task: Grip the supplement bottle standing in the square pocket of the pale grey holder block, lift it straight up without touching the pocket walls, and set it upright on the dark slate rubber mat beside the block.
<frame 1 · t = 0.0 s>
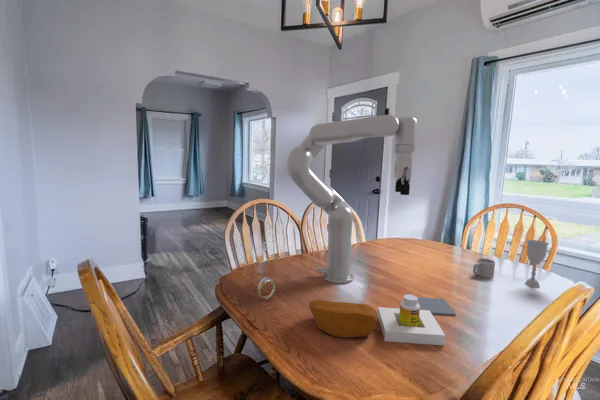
hand: (401, 193, 124), 37 cm above the table, tool pointing down, fingers open, 9 cm apart
ring: (266, 299, 111), on the table
supplement bottle: (408, 330, 93), resting in pocket block
bread: (340, 327, 94), on the table
slate mat: (432, 306, 107), on the table
mug: (481, 276, 137), on the table
pocket block: (408, 329, 93), on the table
chalice: (532, 285, 127), on the table
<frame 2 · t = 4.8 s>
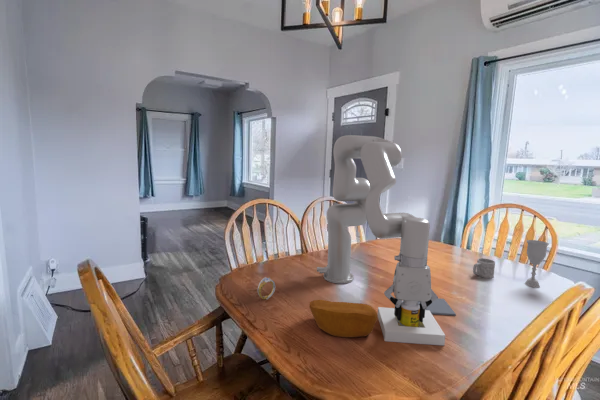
hand: (409, 318, 92), 4 cm above the table, tool pointing down, fingers closed on supplement bottle, 5 cm apart
supplement bottle: (408, 330, 93), resting in pocket block, touching gripper
everything else where it was.
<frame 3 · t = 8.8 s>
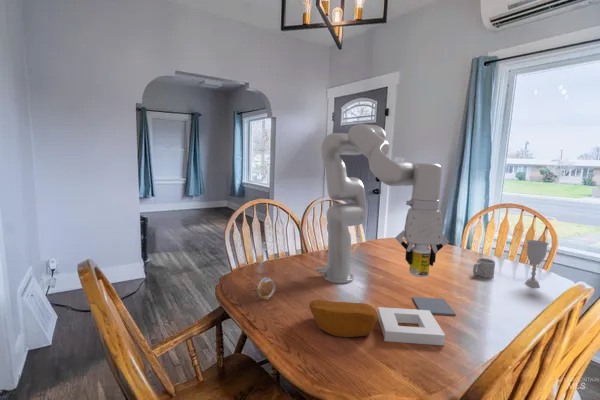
hand: (419, 263, 95), 19 cm above the table, tool pointing down, fingers closed on supplement bottle, 5 cm apart
supplement bottle: (418, 274, 95), point 15 cm above the table, touching gripper
everything else where it was.
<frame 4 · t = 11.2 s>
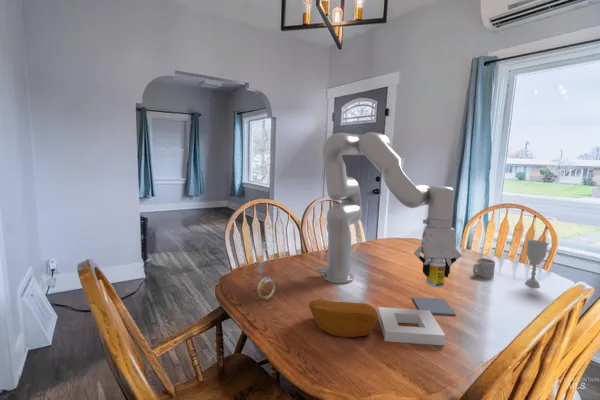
hand: (435, 275, 106), 11 cm above the table, tool pointing down, fingers closed on supplement bottle, 5 cm apart
supplement bottle: (435, 285, 106), point 8 cm above the table, touching gripper
everything else where it was.
when the fingers open (5 cm above the table, at t = 13.2 s): supplement bottle drops 1 cm, resting on slate mat.
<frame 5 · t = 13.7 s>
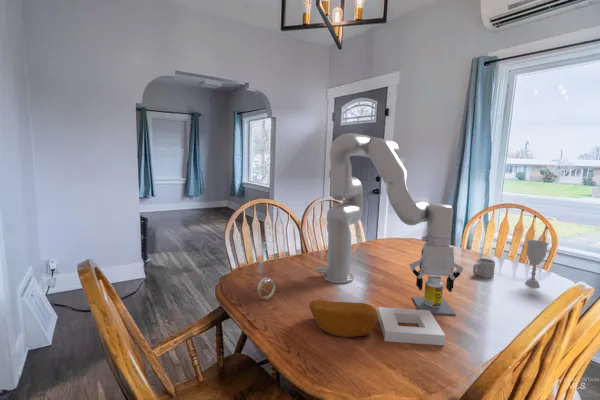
hand: (434, 289, 106), 6 cm above the table, tool pointing down, fingers open, 9 cm apart
supplement bottle: (432, 305, 107), resting on slate mat
everything else where it was.
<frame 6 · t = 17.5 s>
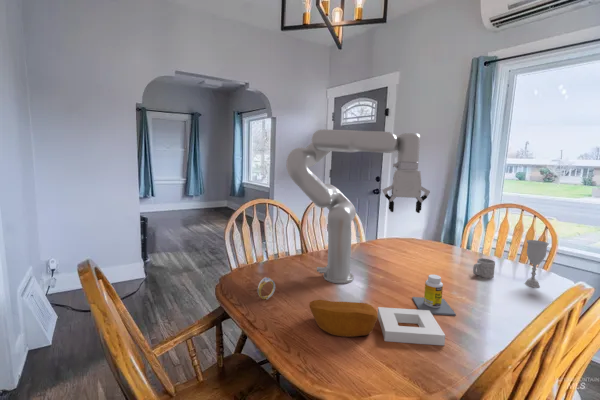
hand: (404, 211, 119), 30 cm above the table, tool pointing down, fingers open, 9 cm apart
nothing on the table moved.
at the end: supplement bottle inside the target area on the slate mat (0.1 cm from its centre), point 0.4 cm above the slate mat's base; supplement bottle tilted 0°; the gripper is holding nothing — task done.
